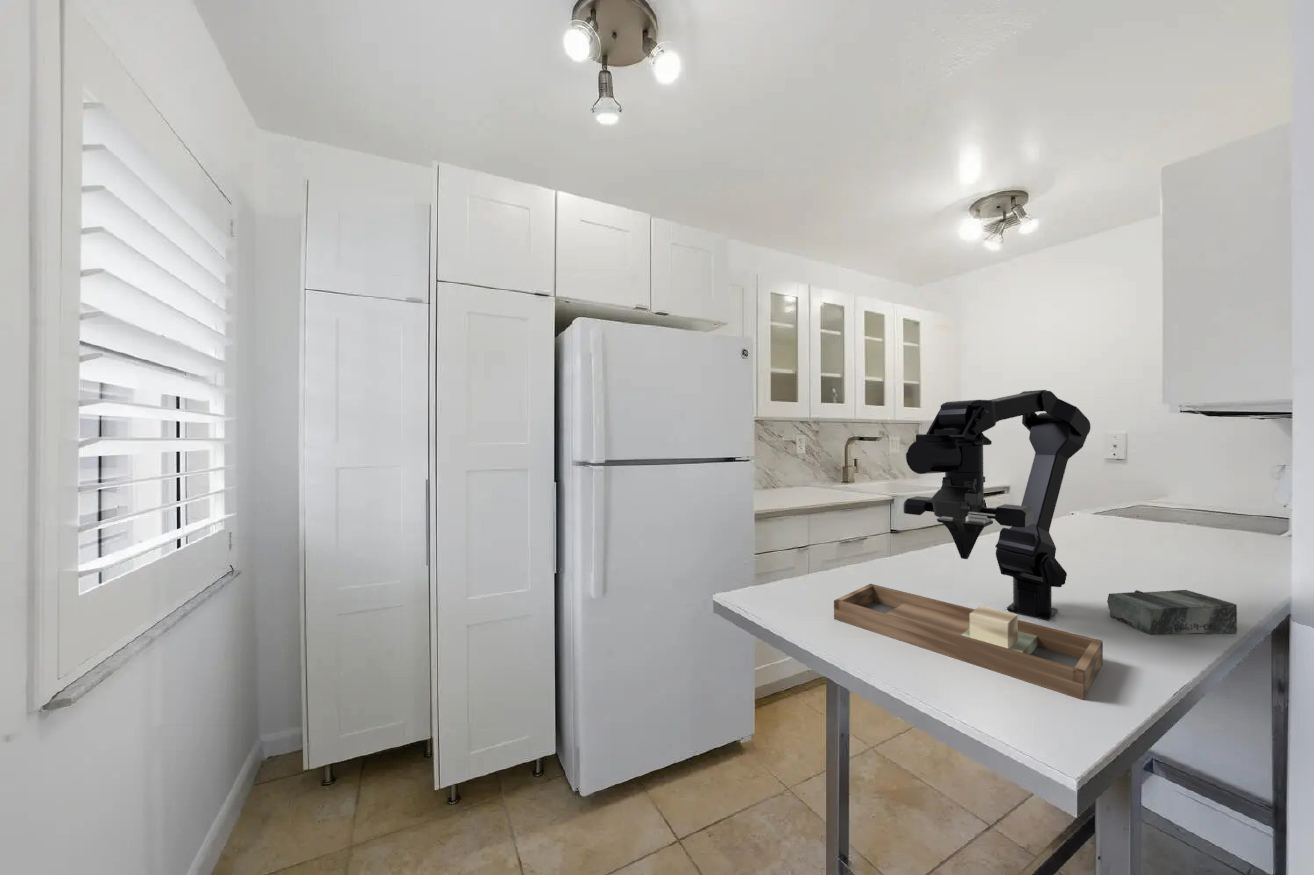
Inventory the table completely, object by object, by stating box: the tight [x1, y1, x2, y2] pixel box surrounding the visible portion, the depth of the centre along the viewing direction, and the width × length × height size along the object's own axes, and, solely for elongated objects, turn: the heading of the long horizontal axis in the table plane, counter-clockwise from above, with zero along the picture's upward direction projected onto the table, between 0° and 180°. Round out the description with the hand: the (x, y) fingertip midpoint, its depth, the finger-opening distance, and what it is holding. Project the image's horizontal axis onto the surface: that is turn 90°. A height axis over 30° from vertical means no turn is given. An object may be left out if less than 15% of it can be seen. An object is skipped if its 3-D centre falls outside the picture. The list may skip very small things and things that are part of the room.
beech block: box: [970, 605, 1019, 649], centre depth 74 cm, size 5×5×4 cm
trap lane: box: [833, 583, 1104, 700], centre depth 79 cm, size 14×35×4 cm, turn 39°
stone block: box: [1106, 589, 1238, 636], centre depth 83 cm, size 9×14×5 cm, turn 89°
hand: (964, 558), depth 84 cm, fingers closed
